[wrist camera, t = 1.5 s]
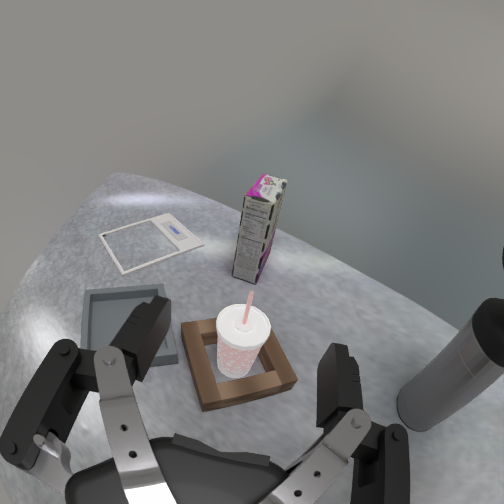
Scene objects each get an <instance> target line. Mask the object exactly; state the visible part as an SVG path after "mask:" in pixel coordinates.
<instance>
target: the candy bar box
mask: <svg viewBox="0 0 504 504" xmlns="http://www.w3.org/2000/svg"><path fill="white" fill-rule="evenodd" d="M286 184H287V180H285V179H281V178H278V177H274V176H270V175H267V174H262V176H261V177H260V178H259V179H258V181H256V183H255V184H254V185H253V186H252V187H251V188H250V190H249V191H248V192H247V193H246V194H245V197H244V203H243V209H242V215H241V221H240V227H239V235H238V241H237V247H236V254H235V260H234V266H233V272H232V276H233V277H235V278H238V279H241V280H244V281H247V282H250V283H253V284H256V283H257V281H258V279H259V276H260V274H261V272H262V269H263V267H264V265H265V263H266V260H267V258H268V256H269V253H270V250H271V246H272V242H273V238H274V234H275V229H276V225H277V221H278V217H279V213H280V209H281V205H282V201H283V196H284V192H285V188H286Z"/></svg>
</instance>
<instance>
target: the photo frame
mask: <svg viewBox="0 0 504 504" xmlns="http://www.w3.org/2000/svg"><path fill="white" fill-rule="evenodd" d="M148 222H151V223H152V224H153V225H154V226H155V227H156V228H157V229H158V230H159V231H160V232H161V233H162V234H163V235H164V236H165V237H166V238H167V239H168V241H169V242H170V243H171V244H172V245H173V246H174V247H175V248H176V249H177V250H178V251H177V252H175V253H172V254H169V255H166V256H164V257H161V258H158V259H156V260H153V261H150V262H148V263H145V264H142V265H140V266H137V267H135V268H132V269H129V270H127V271H124V270H123V268H122V267H121V265H120V264H119V262H118V261H117V259H116V257H115V256H114V254H113V253H112V251H111V249H110V248H109V246H108V244H107V243H106V241H105V239H104V238H103V236H102V235H105V234H106V236H107V235H110V234H113V233H116V232H119V231H122V230H125V229H129V228H132V227H135V226H138V225H141V224H145V223H148ZM99 238H100V240H101V242H102V243H103V245H104V247H105V248H106V250H107V252H108V254H109V255H110V257H111V259H112V260H113V262H114V264H115V265H116V267H117V268H118V270H119V272H120V273H121V275H122V276H123V277H124V276H127V275H129V274H132V273H134V272H137V271H139V270H142V269H144V268H147V267H150V266H152V265H155V264H157V263H160V262H163V261H165V260H168V259H171V258H173V257H176V256H178V255H181V254H184V253H186V252H189V251H192V250H194V249H197V248H200V247H202V246H204V243H203V242H201V241H200V240H199V239H198V238H197V237H196V236H195V235H193V234H192V233H191V232H190V231H189V230H188V229H187V228H185V227H184V226H183V225H182V224H181V223H180V222H179V221H177V220H176V219H175V218H174V217H173V216H172V215H171V214H170V213H167V214H164V215H160V216H157V217H153V218H150V219H146V220H143V221H140V222H136V223H133V224H130V225H127V226H123V227H120V228H117V229H114V230H111V231H108V232H105V233H102V234H99Z"/></svg>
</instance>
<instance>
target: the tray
mask: <svg viewBox="0 0 504 504" xmlns="http://www.w3.org/2000/svg"><path fill="white" fill-rule="evenodd" d="M155 295H158V296H161V297H164V298H166V297H165V291H164V285H163V284H152V285H141V286H130V287H118V288H106V289H93V290H85V294H84V303H83V314H82V327H81V347H80V349H87V350H94V351H96V350H98V349H100V348H102V347H104V346H108V345H109V344H110V343H111V342H112V340H113V339H114V337H115V336H116V334H117V333H118V331H119V330H120V328H121V327H122V325H123V324H124V323H125V322H126V320H127V318H128V317H129V316H130V314H131V312H132V311H133V310H134V308H135V307H136V306H138V305H139V304H141V303H142V302H146V303H149V304H150V302H151V301H152V299H153V298H154V296H155ZM177 363H178V359H177V351H176V347H175V342H174V338H173V333H172V328H171V323H170V327H169V330H168V332H167V334H166V336H165V338H164V340H163V342H162V344H161V346H160V348H159V350H158V352H157V354H156V356H155V357H154V359H153V361H152V363H151V365H150V367H154V366H162V365H170V364H177Z"/></svg>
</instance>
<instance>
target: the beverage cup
mask: <svg viewBox="0 0 504 504" xmlns="http://www.w3.org/2000/svg"><path fill="white" fill-rule="evenodd" d="M253 296H254V291H250V292H249V296H248V300H247V304H234V305H231V306H228V307H226V308H224V309H223V310H222V311H221V312H220V313H219V315H218V318H217V320H216V329H217V334H218V344H217V365H218V368H219V370H220V371H221V373H223V374H224V375H226V376H227V377H231V378H240V377H242V376H244V375H246V374H247V373H248V372H249V370H250V368H251V366H252V365H253V363H254V361H255V359H256V357H257V355H258V353H259V351H260V349H261V347H262V345H263V344H264V343H265V342H266V340H267V339H268V337H269V335H270V330H271V325H270V322H269V319H268V317H267V316H266V315H265V314H264V313H263V312H262V311H261V310H259V309H257V308H256V307H254V306H251V303H252V299H253Z"/></svg>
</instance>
